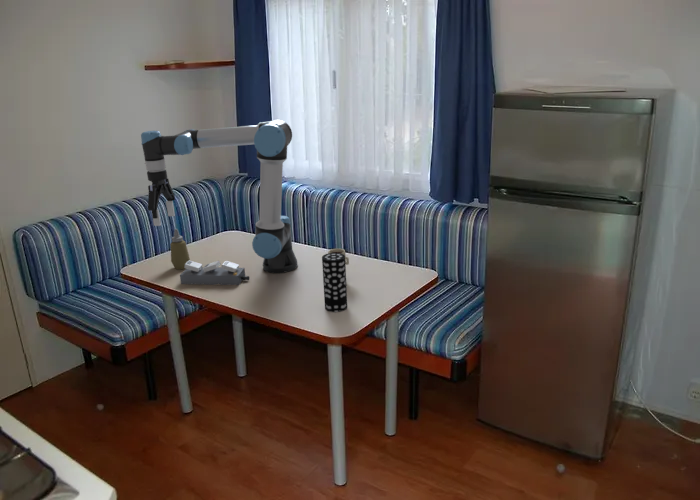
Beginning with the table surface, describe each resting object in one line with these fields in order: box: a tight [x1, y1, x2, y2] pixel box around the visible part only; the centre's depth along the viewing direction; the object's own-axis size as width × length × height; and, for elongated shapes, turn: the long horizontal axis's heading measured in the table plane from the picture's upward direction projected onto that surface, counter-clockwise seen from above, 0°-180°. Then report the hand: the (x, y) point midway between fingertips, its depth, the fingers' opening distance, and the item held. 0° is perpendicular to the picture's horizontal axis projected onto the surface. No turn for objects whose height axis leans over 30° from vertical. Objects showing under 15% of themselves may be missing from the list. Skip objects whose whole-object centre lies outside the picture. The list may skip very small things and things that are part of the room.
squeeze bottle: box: [170, 228, 191, 270], centre depth 259 cm, size 8×8×18 cm
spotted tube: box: [321, 252, 348, 313], centre depth 213 cm, size 8×8×20 cm
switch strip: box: [179, 266, 250, 286], centre depth 245 cm, size 28×9×5 cm, turn 83°
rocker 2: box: [203, 260, 222, 272], centre depth 244 cm, size 6×5×2 cm
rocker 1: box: [184, 259, 204, 272], centre depth 245 cm, size 6×5×2 cm
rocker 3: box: [220, 260, 240, 272], centre depth 243 cm, size 6×5×2 cm
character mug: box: [327, 248, 350, 266], centre depth 238 cm, size 11×7×13 cm, turn 60°
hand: (164, 220), depth 242 cm, fingers open, 13 cm apart
